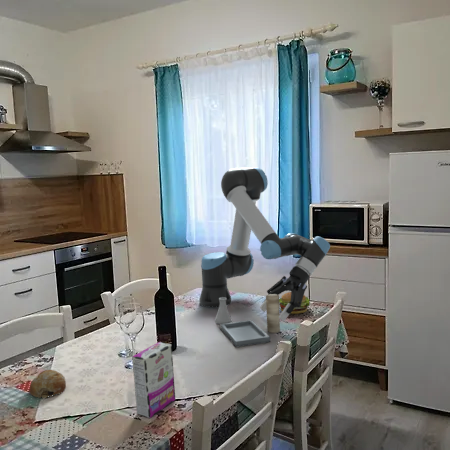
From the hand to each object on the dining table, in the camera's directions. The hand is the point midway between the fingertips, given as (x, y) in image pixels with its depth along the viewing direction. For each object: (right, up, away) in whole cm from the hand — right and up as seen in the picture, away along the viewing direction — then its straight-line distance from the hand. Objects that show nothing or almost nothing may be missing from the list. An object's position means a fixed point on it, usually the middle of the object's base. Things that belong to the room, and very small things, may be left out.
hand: (271, 314), depth 181 cm
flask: (-18, -6, +15) cm, 24 cm away
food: (+13, -3, +26) cm, 29 cm away
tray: (-10, -7, -2) cm, 13 cm away
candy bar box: (-37, -15, -53) cm, 66 cm away
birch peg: (+1, -7, +2) cm, 7 cm away
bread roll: (-71, -15, -41) cm, 83 cm away
